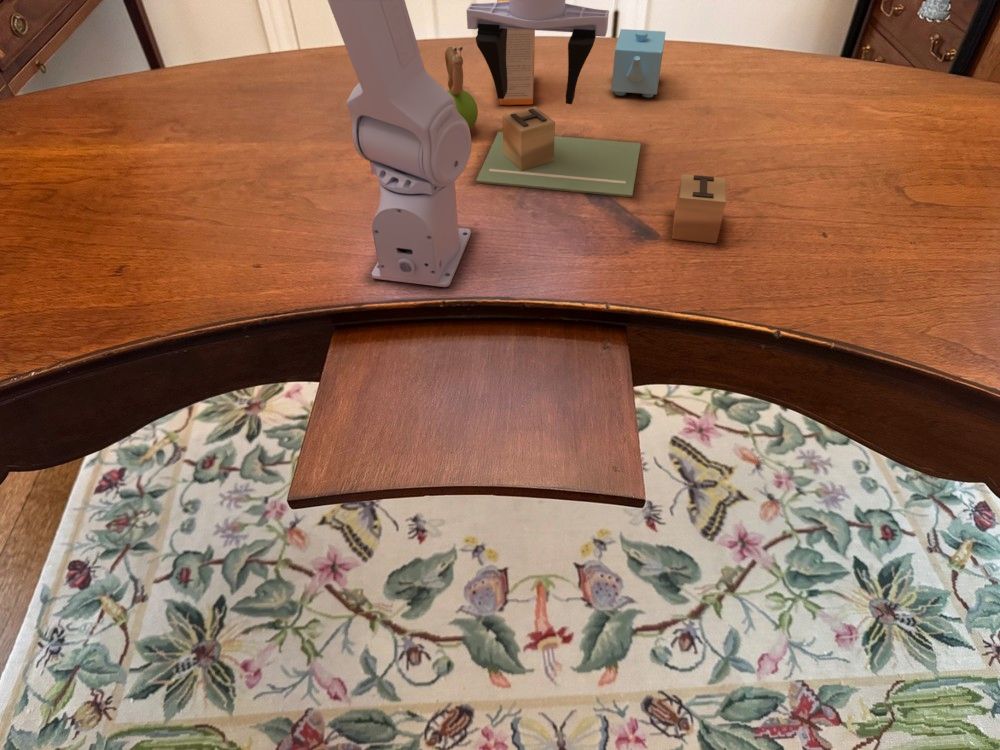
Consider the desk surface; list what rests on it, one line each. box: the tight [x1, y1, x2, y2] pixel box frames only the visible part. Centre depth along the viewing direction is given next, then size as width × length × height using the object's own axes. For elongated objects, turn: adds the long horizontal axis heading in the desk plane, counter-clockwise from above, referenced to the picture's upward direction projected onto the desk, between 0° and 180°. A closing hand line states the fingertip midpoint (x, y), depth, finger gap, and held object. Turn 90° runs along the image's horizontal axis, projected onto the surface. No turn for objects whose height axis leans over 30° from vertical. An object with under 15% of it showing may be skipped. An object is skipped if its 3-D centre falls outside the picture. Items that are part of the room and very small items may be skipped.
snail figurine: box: [444, 45, 479, 130], centre depth 87 cm, size 5×6×12 cm
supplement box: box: [496, 0, 536, 106], centre depth 94 cm, size 8×5×13 cm, turn 179°
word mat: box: [475, 130, 642, 198], centre depth 85 cm, size 12×18×1 cm, turn 78°
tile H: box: [501, 106, 556, 171], centre depth 84 cm, size 4×4×5 cm
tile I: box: [671, 173, 727, 244], centre depth 73 cm, size 4×4×5 cm
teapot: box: [610, 28, 666, 98], centre depth 96 cm, size 12×6×8 cm, turn 168°
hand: (536, 97), depth 80 cm, fingers open, 7 cm apart
